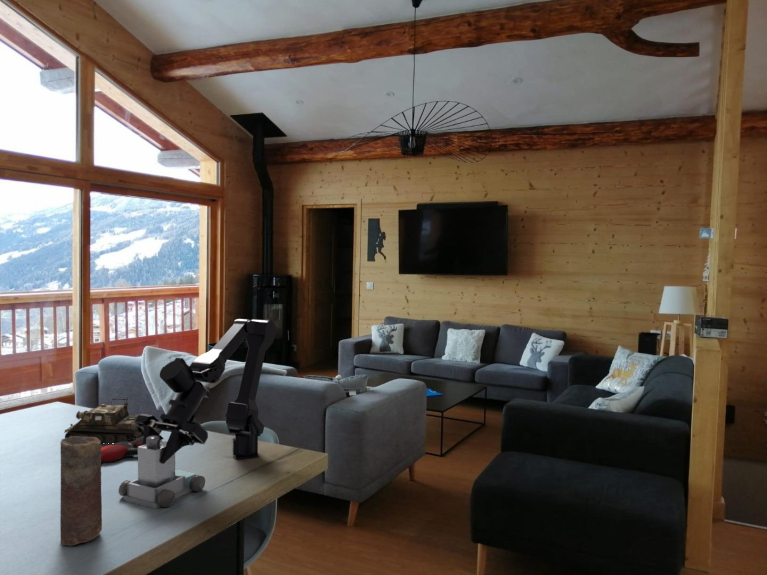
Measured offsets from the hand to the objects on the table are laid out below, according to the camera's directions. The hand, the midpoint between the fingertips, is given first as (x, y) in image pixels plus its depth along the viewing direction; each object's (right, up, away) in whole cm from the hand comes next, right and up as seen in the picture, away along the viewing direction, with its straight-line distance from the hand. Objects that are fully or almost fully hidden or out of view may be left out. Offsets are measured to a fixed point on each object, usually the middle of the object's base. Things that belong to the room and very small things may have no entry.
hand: (152, 460), depth 136 cm
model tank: (-31, -7, +45) cm, 55 cm away
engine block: (+1, -7, +2) cm, 7 cm away
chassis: (+1, -9, +3) cm, 9 cm away
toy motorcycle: (-21, -8, +28) cm, 36 cm away
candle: (-6, -10, -19) cm, 23 cm away
